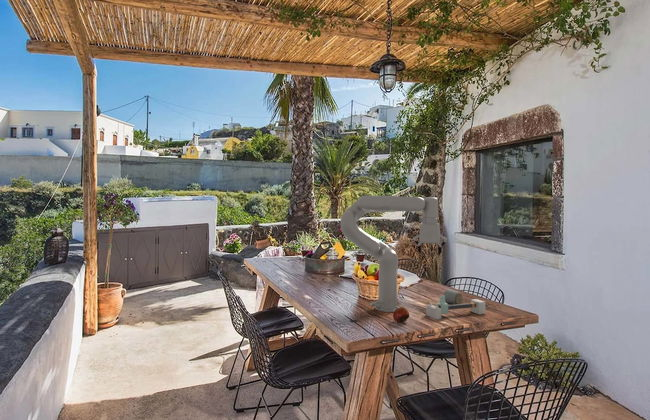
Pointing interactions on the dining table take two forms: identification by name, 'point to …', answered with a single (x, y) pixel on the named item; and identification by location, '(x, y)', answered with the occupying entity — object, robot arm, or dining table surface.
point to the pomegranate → (400, 314)
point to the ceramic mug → (453, 297)
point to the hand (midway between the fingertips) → (429, 254)
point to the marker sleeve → (443, 305)
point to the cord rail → (475, 306)
